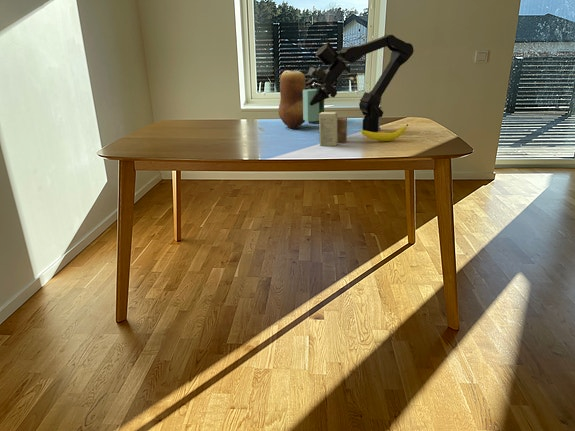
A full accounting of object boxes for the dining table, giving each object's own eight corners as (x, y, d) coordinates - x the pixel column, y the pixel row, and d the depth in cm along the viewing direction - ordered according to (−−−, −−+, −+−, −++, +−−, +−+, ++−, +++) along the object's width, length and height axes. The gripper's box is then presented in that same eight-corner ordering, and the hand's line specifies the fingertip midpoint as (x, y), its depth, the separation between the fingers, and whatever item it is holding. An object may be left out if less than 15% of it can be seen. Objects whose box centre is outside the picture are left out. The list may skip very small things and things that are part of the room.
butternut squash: (313, 127, 193) (313, 70, 183) (289, 131, 186) (288, 72, 176) (296, 123, 203) (295, 68, 193) (272, 127, 196) (270, 70, 187)
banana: (358, 142, 165) (359, 125, 162) (405, 139, 166) (406, 123, 164) (360, 143, 162) (361, 127, 160) (408, 141, 164) (409, 124, 161)
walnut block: (346, 140, 168) (347, 117, 164) (345, 143, 164) (346, 120, 160) (335, 140, 169) (335, 117, 165) (333, 142, 165) (334, 119, 161)
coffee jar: (322, 124, 200) (323, 83, 192) (306, 123, 201) (306, 83, 194) (325, 120, 208) (325, 81, 201) (309, 120, 210) (309, 81, 203)
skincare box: (337, 143, 163) (338, 111, 158) (335, 146, 159) (335, 113, 154) (321, 142, 165) (321, 111, 160) (318, 145, 161) (318, 113, 156)
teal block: (314, 118, 175) (314, 88, 171) (319, 120, 171) (319, 90, 166) (303, 119, 174) (302, 89, 169) (307, 121, 170) (307, 91, 165)
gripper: (310, 58, 173) (286, 88, 174) (330, 60, 156) (303, 93, 157) (328, 77, 178) (304, 106, 179) (348, 81, 162) (322, 112, 163)
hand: (307, 104), depth 170 cm, fingers closed on teal block, 5 cm apart
